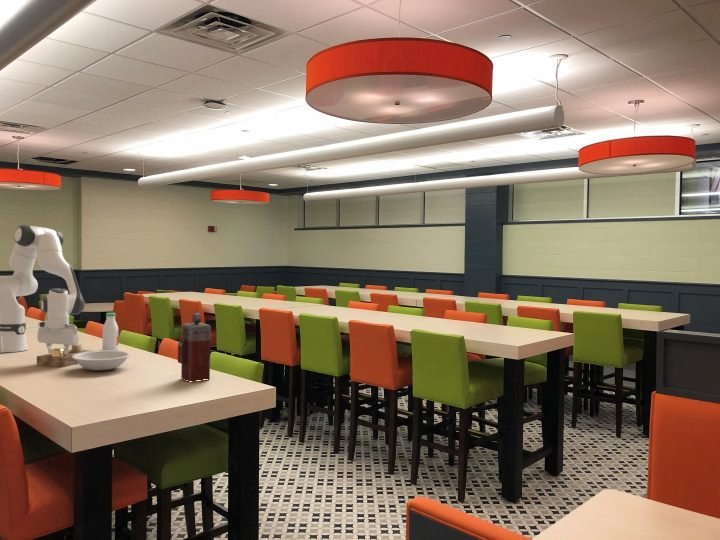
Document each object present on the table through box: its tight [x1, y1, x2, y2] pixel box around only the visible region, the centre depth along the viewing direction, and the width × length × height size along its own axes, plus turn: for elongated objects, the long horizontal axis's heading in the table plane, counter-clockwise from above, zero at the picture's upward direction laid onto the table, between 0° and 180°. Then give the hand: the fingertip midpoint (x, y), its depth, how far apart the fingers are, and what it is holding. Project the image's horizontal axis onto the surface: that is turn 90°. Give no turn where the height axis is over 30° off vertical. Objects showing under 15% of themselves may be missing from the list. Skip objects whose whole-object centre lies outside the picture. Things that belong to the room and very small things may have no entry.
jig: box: [36, 344, 93, 368], centre depth 266 cm, size 14×22×7 cm, turn 165°
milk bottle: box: [101, 312, 119, 351], centre depth 300 cm, size 8×8×20 cm
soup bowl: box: [72, 350, 132, 371], centre depth 252 cm, size 24×24×7 cm
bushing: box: [50, 347, 64, 357], centre depth 261 cm, size 5×5×7 cm
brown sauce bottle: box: [177, 312, 212, 381], centre depth 236 cm, size 9×11×28 cm
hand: (57, 353), depth 261 cm, fingers open, 6 cm apart
